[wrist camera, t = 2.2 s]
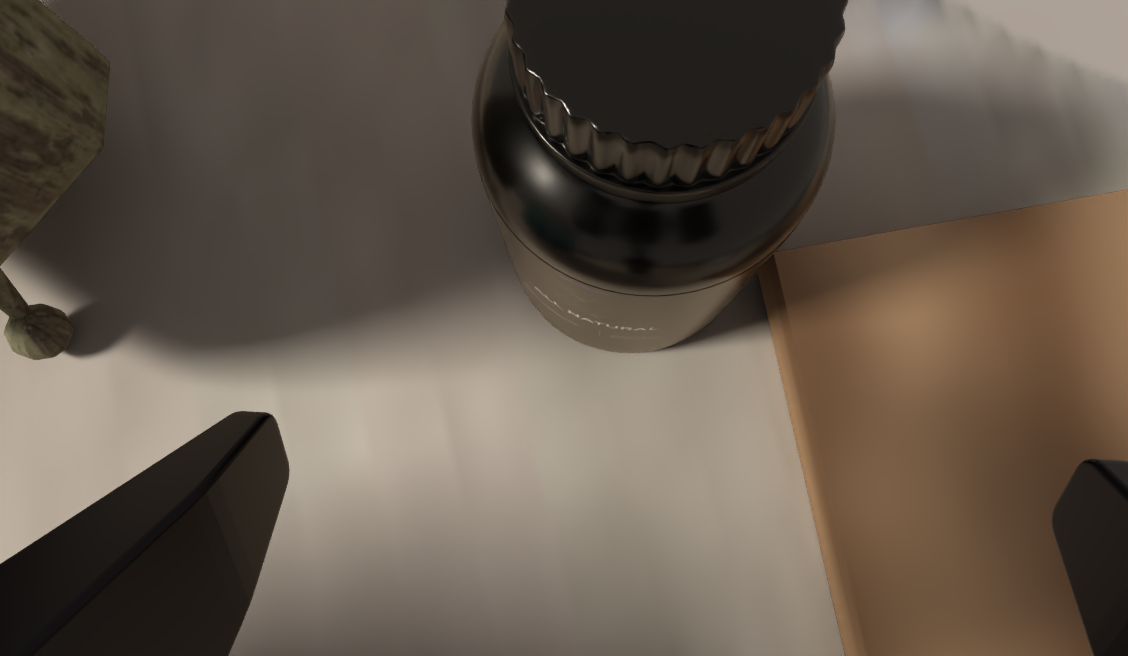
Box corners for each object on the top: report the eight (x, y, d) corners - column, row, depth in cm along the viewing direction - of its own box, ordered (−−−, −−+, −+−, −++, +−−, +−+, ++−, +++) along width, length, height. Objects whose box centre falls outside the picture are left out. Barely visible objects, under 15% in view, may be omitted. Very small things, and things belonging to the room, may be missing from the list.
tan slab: (848, 669, 19) (876, 692, 17) (757, 271, 21) (773, 252, 19) (1264, 599, 19) (1340, 614, 17) (1131, 205, 21) (1186, 179, 19)
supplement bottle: (548, 385, 21) (484, 285, 9) (490, 171, 22) (370, -156, 11) (777, 322, 21) (1003, 141, 9) (706, 111, 22) (826, -281, 11)
